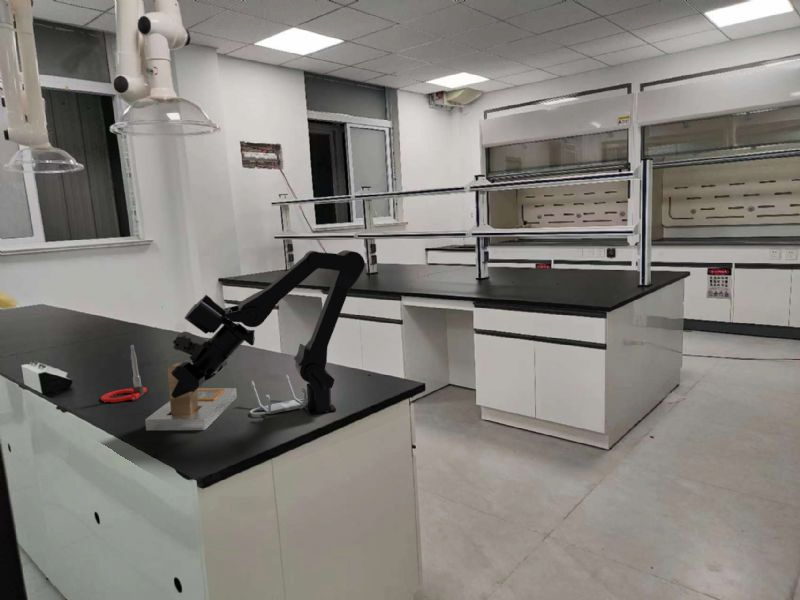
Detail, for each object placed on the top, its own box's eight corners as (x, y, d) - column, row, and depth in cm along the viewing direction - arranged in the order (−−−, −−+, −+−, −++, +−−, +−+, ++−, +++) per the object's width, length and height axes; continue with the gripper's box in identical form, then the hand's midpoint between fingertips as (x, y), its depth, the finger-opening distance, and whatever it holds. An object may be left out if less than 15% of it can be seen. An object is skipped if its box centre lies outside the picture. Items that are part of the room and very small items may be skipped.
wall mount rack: (256, 421, 125) (254, 396, 124) (239, 405, 136) (238, 382, 135) (320, 407, 133) (319, 384, 132) (299, 394, 144) (298, 372, 143)
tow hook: (95, 405, 139) (135, 402, 140) (87, 352, 137) (128, 348, 138) (110, 394, 148) (149, 391, 149) (103, 344, 146) (142, 341, 147)
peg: (191, 424, 124) (187, 368, 122) (172, 424, 124) (167, 368, 122) (199, 417, 128) (195, 363, 126) (180, 417, 128) (175, 363, 126)
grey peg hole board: (204, 430, 120) (203, 417, 120) (146, 430, 121) (145, 418, 120) (236, 397, 142) (236, 386, 142) (186, 397, 142) (186, 387, 142)
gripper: (210, 313, 132) (168, 358, 133) (177, 328, 113) (129, 381, 115) (245, 345, 132) (203, 389, 134) (218, 365, 114) (169, 417, 116)
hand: (177, 393), depth 125 cm, fingers closed on peg, 4 cm apart
